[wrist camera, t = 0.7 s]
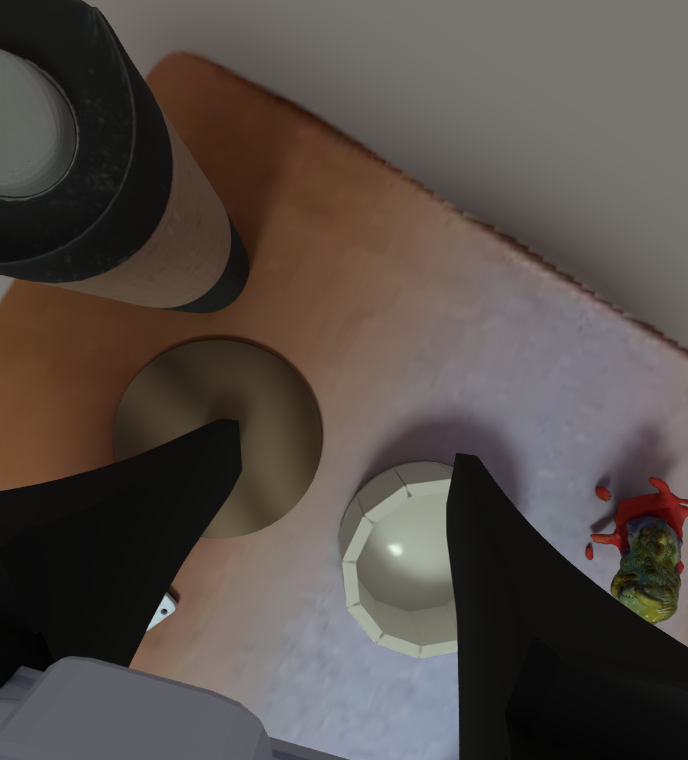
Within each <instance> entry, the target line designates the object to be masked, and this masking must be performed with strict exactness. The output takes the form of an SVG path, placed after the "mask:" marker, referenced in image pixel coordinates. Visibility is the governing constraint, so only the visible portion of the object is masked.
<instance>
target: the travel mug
mask: <svg viewBox="0 0 688 760" xmlns="http://www.w3.org/2000/svg"><path fill="white" fill-rule="evenodd" d="M248 268H249V266H248V258H247V253H246V250H245V248H244V245H243V243H242V241H241V239H240V237H239V235H238V233H237V231H236V229H235V227H234V225H233V223H232V221H231V219H230V217H229V215H228V213H227V211H226V210H225V208H224V206H223V204H222V202H221V200H220V198H219V197H218V195H217V194H216V192H215V191H214V189H213V187H212V186H211V184H210V183H209V181H208V180H207V178H206V176H205V175H204V173H203V172H202V170H201V169H200V167H199V166H198V164H197V162H196V161H195V159H194V158H193V156H192V155H191V153H190V151H189V150H188V148H187V147H186V145H185V144H184V142H183V141H182V139H181V137H180V136H179V134H178V133H177V131H176V130H175V128H174V126H173V125H172V123H171V122H170V120H169V119H168V117H167V116H166V114H165V112H164V111H163V109H162V108H161V106H160V105H159V103H158V101H157V100H156V98H155V97H154V95H153V94H152V92H151V90H150V89H149V87H148V86H147V84H146V83H145V81H144V79H143V78H142V76H141V75H140V73H139V72H138V70H137V68H136V67H135V66H134V64H133V63H132V61H131V59H130V58H129V56H128V54H127V53H126V51H125V49H124V47H123V46H122V44H121V42H120V41H119V39H118V37H117V36H116V34H115V32H114V30H113V29H112V27H111V26H110V24H109V23H108V21H107V20H106V18H105V17H104V15H103V14H102V13H101V12H100V11H99V9H98V8H96V7H91V6H90V5H88V4H87V3H85V2H84V1H82V0H0V275H4V276H9V277H13V278H18V279H22V280H27V281H31V282H36V283H41V284H45V285H50V286H54V287H59V288H63V289H68V290H72V291H77V292H82V293H86V294H91V295H95V296H100V297H104V298H109V299H113V300H118V301H123V302H127V303H132V304H136V305H141V306H146V307H151V308H158V309H167V310H176V311H184V312H194V313H209V312H214V311H217V310H220V309H223V308H225V307H226V306H228V305H230V304H231V303H232V302H233V301H234V300H236V298H237V297H238V296H239V295H240V293H241V292H242V290H243V288H244V286H245V284H246V281H247V277H248Z"/></svg>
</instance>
